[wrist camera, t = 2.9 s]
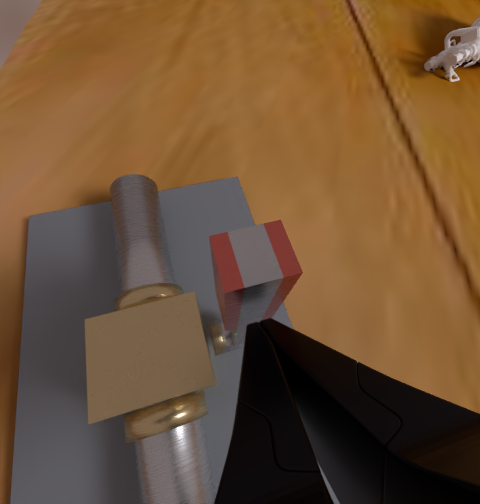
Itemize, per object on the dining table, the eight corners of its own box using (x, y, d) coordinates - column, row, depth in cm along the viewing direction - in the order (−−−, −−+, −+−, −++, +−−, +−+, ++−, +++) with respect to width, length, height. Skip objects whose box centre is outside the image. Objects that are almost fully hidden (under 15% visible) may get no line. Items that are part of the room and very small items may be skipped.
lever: (256, 345, 17) (305, 280, 7) (215, 357, 17) (197, 308, 6) (247, 315, 18) (278, 213, 7) (208, 326, 18) (180, 235, 7)
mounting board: (379, 580, 14) (389, 593, 13) (9, 761, 11) (-10, 793, 10) (237, 183, 26) (237, 176, 25) (36, 222, 23) (29, 216, 22)
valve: (269, 612, 13) (289, 722, 9) (145, 670, 12) (101, 826, 8) (176, 200, 24) (165, 159, 20) (107, 213, 23) (79, 174, 19)
